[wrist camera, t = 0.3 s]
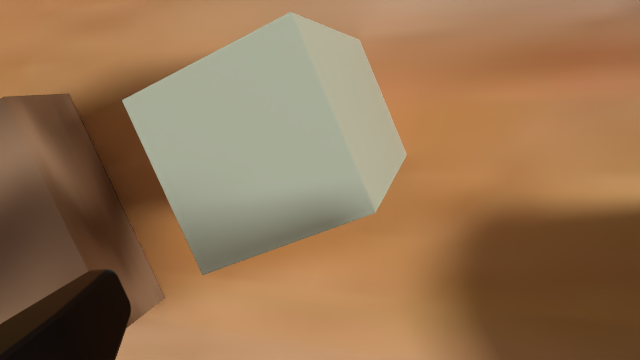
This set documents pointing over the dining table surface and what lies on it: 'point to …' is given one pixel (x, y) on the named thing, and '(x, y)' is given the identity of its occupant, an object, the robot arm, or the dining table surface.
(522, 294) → the dining table surface
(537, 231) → the dining table surface
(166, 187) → the sage block
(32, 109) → the walnut base block
